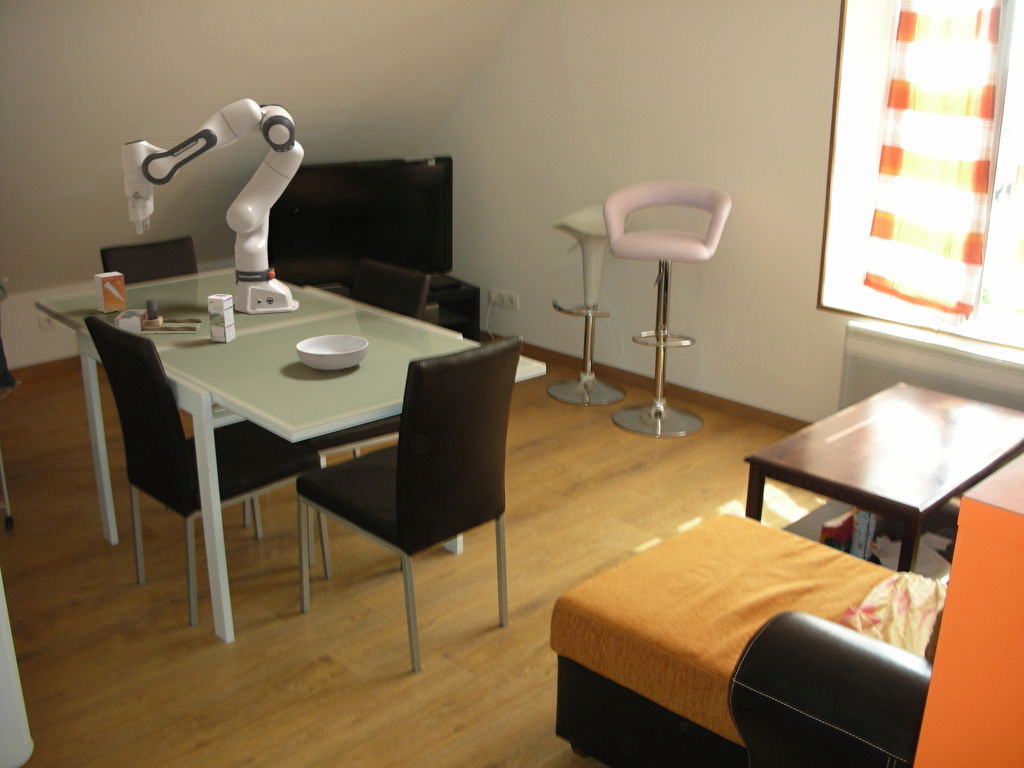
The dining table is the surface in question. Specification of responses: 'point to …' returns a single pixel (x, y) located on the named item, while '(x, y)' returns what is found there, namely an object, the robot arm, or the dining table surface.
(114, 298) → the small box
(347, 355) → the serving bowl
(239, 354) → the dining table surface
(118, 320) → the grey-white box
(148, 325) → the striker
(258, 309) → the robot arm
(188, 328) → the rails
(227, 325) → the syrup box
